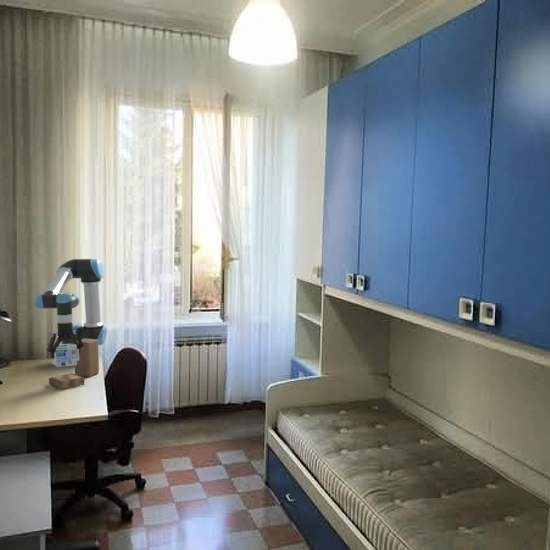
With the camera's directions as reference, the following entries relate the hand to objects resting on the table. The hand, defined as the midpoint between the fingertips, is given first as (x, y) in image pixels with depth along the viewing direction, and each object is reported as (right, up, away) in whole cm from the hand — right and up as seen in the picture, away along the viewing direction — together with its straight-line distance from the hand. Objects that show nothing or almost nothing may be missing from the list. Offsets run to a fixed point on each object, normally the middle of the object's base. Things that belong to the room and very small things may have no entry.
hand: (66, 362), depth 300 cm
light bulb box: (0, -2, 0) cm, 2 cm away
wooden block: (+4, -11, +22) cm, 25 cm away
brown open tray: (0, -12, +1) cm, 12 cm away
